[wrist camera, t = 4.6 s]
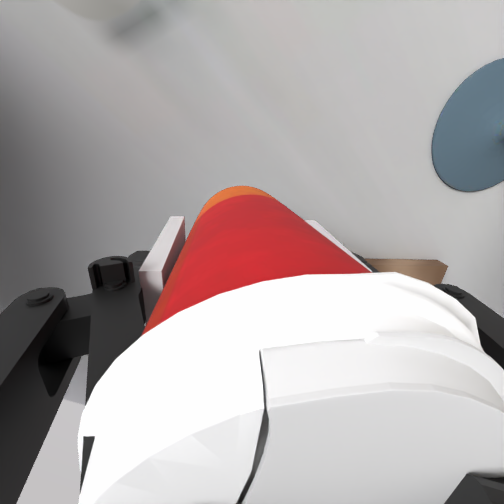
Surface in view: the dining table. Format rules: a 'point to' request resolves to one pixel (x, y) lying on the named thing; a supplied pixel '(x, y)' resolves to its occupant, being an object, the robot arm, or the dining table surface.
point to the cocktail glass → (472, 132)
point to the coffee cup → (291, 378)
